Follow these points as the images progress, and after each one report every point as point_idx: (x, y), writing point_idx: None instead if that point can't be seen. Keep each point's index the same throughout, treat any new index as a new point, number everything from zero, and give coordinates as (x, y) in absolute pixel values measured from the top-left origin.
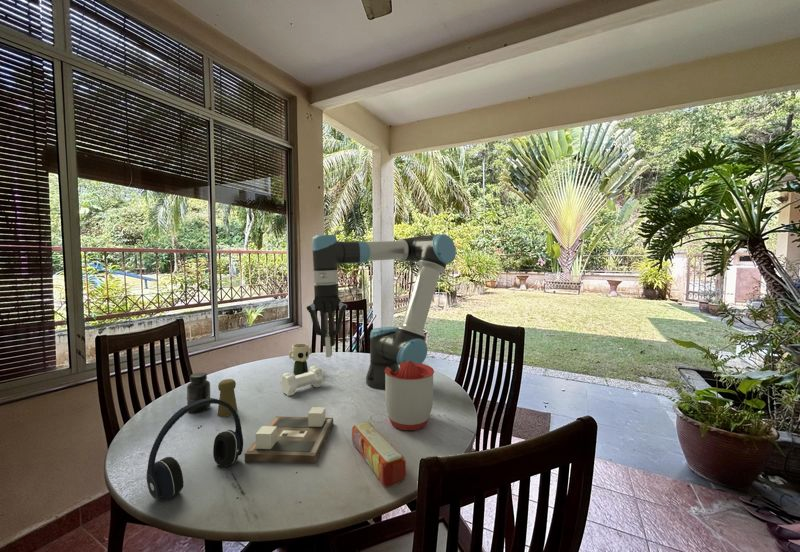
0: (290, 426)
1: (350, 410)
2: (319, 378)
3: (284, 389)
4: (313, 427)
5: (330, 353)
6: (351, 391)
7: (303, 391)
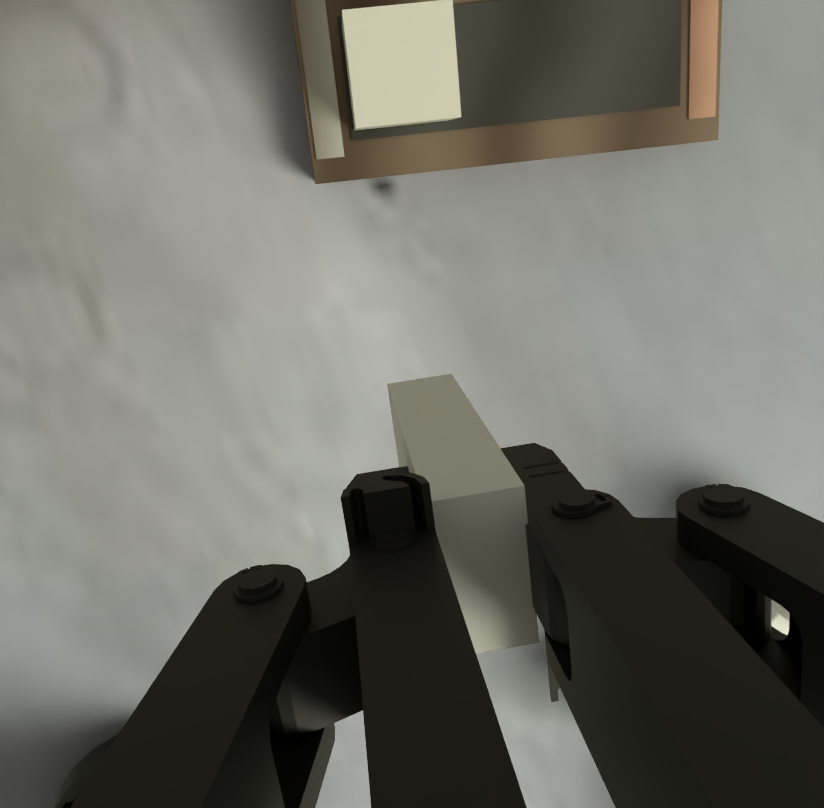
0: (565, 1)
1: (271, 390)
2: None
3: None
4: None
5: (392, 404)
6: None
7: None
